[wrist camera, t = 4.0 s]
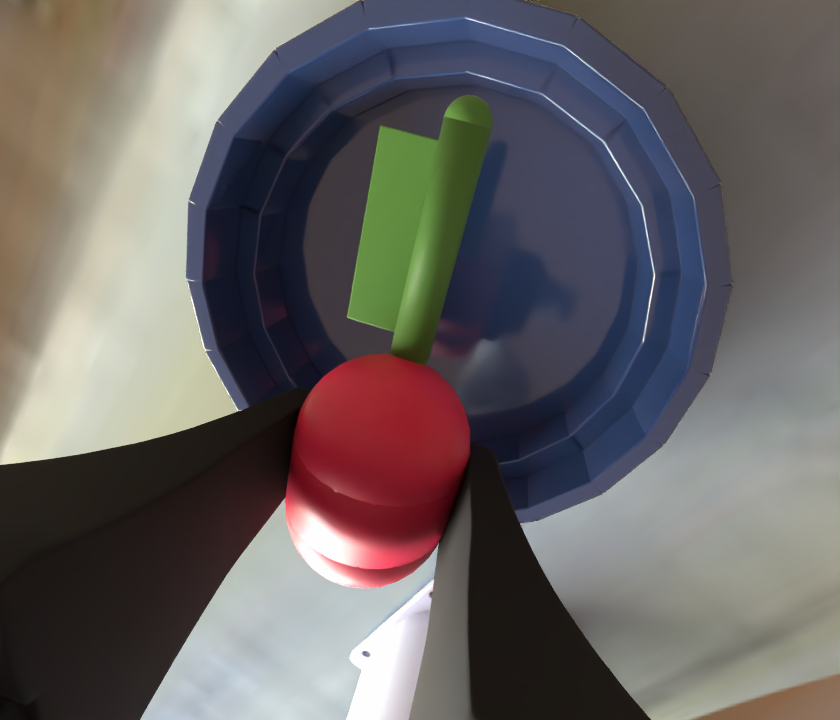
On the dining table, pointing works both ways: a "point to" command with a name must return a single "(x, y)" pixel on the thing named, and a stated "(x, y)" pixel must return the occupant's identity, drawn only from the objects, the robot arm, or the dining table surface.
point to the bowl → (475, 233)
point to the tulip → (392, 371)
